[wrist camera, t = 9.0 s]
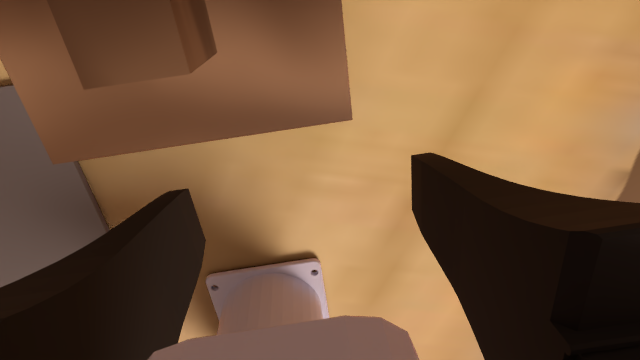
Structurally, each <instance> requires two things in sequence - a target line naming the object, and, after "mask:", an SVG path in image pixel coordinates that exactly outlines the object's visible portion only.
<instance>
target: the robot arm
mask: <svg viewBox="0 0 640 360" xmlns="http://www.w3.org/2000/svg"><path fill="white" fill-rule="evenodd" d="M411 174H412V211H413V213H414V216H415V219H416V221H417V224H418V226H419V229H420V231H421V233H422V235H423V237H424V239H425V241H426V242H427V244H428V246H429V247H430V249H431V251H432V253H433V254H434V256H435V258H436V259H437V261H438V263H439V265H440V266H441V268H442V270H443V271H444V273H445V275H446V276H447V278H448V280H449V282H450V283H451V285H452V287H453V289H454V291H455V292H456V294H457V296H458V298H459V301H460V303H461V305H462V307H463V310H464V312H465V314H466V316H467V319H468V321H469V323H470V325H471V328H472V330H473V333H474V335H475V337H476V340H477V342H478V345H479V347H480V349H481V352H482V354H483V357H484V359H485V360H640V203H631V202H619V201H610V200H600V199H592V198H585V197H578V196H572V195H566V194H561V193H555V192H550V191H545V190H540V189H536V188H532V187H528V186H524V185H520V184H517V183H513V182H510V181H507V180H504V179H501V178H498V177H495V176H492V175H489V174H486V173H483V172H480V171H478V170H475V169H473V168H470V167H468V166H465V165H463V164H460V163H458V162H455V161H453V160H450V159H448V158H445V157H443V156H440V155H437V154H434V153H424V154H417V155H411ZM205 241H206V240H205V237H204V234H203V231H202V228H201V225H200V222H199V219H198V216H197V213H196V210H195V207H194V204H193V201H192V198H191V195H190V192H189V189H182V190H175V191H169V192H167V193H165V194H163V195H161V196H160V197H158V198H157V199H155V200H154V201H152V202H151V203H149V204H148V205H146V206H145V207H143V208H142V209H141V210H139V211H138V212H136V213H135V214H133V215H132V216H131V217H129V218H128V219H126V220H125V221H123V222H122V223H120V224H119V225H117V226H116V227H114V228H113V229H111V230H110V231H108V232H107V233H105V234H104V235H102V236H101V237H99V238H97V239H96V240H94V241H93V242H91V243H89V244H88V245H86V246H84V247H83V248H81V249H79V250H77V251H76V252H74V253H72V254H70V255H68V256H66V257H64V258H63V259H61V260H59V261H57V262H55V263H53V264H51V265H49V266H47V267H44V268H42V269H40V270H38V271H36V272H34V273H32V274H30V275H27V276H25V277H23V278H21V279H19V280H17V281H14V282H12V283H10V284H7V285H5V286H3V287H0V360H419V358H418V355H417V353H416V350H415V348H414V346H413V343H412V341H411V339H410V336H409V334H408V332H407V331H405V330H403V329H401V328H399V327H398V326H396V325H394V324H392V323H390V322H388V321H386V320H385V319H383V318H380V317H366V316H339V317H332V318H329V313H328V306H327V300H326V294H325V288H324V282H323V276H322V270H321V264H320V261H319V260H318V259H316V258H311V259H304V260H298V261H291V262H285V263H278V264H271V265H265V266H258V267H252V268H245V269H239V270H232V271H226V272H219V273H213V274H209V275H208V276H207V278H206V285H207V288H208V291H209V294H210V297H211V299H212V302H213V305H214V308H215V311H216V314H217V317H218V319H219V326H218V331H217V335H213V336H206V337H200V338H193V339H188V340H185V341H183V342H180V343H178V340H179V336H180V333H181V329H182V326H183V322H184V319H185V316H186V313H187V310H188V307H189V304H190V301H191V298H192V295H193V292H194V289H195V286H196V283H197V280H198V276H199V273H200V270H201V267H202V261H203V255H204V248H205ZM312 270H317V271H316V272H312ZM213 285H216V286H218V287H214V286H213Z"/></svg>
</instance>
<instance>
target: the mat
mask: <svg viewBox="0 0 640 360" xmlns="http://www.w3.org/2000/svg"><path fill="white" fill-rule="evenodd" d="M108 231H110V230H109V228H108V226H107V224H106V221H105V219H104V217H103V215H102V213H101V211H100V208H99V206H98V204H97V202H96V200H95V198H94V195H93V193H92V191H91V189H90V187H89V185H88V182H87V180H86V178H85V176H84V174H83V172H82V169H81V167H80V165H79V163H78V161H74V162H67V163H60V164H54V165H53V163H52V161H51V159H50V157H49V155H48V153H47V151H46V149H45V147H44V145H43V143H42V141H41V139H40V137H39V135H38V133H37V131H36V129H35V127H34V125H33V123H32V121H31V119H30V117H29V115H28V113H27V111H26V109H25V107H24V105H23V103H22V101H21V99H20V97H19V95H18V93H17V91H16V89H15V87H14V85H7V86H0V287H3V286H5V285H7V284H10V283H12V282H14V281H17V280H19V279H21V278H23V277H25V276H27V275H30V274H32V273H34V272H36V271H38V270H40V269H42V268H44V267H47V266H49V265H51V264H53V263H55V262H57V261H59V260H61V259H63V258H64V257H66V256H68V255H70V254H72V253H74V252H76V251H77V250H79V249H81V248H83V247H84V246H86V245H88V244H89V243H91V242H93V241H94V240H96V239H97V238H99V237H101V236H102V235H104V234H105V233H107V232H108Z"/></svg>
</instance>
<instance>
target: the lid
mask: <svg viewBox="0 0 640 360" xmlns="http://www.w3.org/2000/svg"><path fill="white" fill-rule="evenodd" d="M0 59H1V61H2V63H3V65H4V67H5V69H6V71H7V73H8V75H9V77H10V79H11V81H12V83H13V85H14V87H15V89H16V91H17V93H18V95H19V97H20V99H21V101H22V103H23V105H24V107H25V109H26V111H27V113H28V115H29V117H30V119H31V121H32V123H33V125H34V127H35V129H36V131H37V133H38V135H39V137H40V139H41V141H42V143H43V145H44V147H45V149H46V151H47V153H48V155H49V157H50V159H51V161H52V163H53V165H54V164H60V163H67V162H74V161H80V160H87V159H94V158H100V157H107V156H114V155H120V154H127V153H134V152H141V151H147V150H154V149H161V148H167V147H174V146H181V145H187V144H194V143H201V142H207V141H214V140H221V139H228V138H234V137H241V136H248V135H254V134H261V133H268V132H274V131H281V130H288V129H294V128H301V127H308V126H315V125H321V124H328V123H335V122H341V121H348V120H352V109H351V98H350V88H349V77H348V66H347V56H346V45H345V34H344V24H343V13H342V2H341V0H0Z"/></svg>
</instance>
